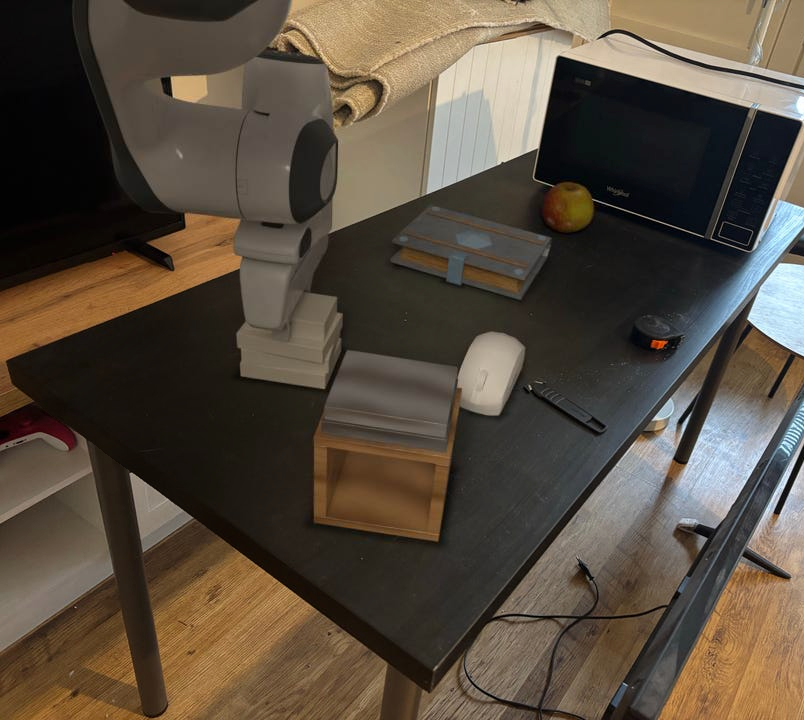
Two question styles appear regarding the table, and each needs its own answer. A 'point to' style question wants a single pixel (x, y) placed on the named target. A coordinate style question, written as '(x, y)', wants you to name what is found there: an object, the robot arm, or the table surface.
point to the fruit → (568, 207)
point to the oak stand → (386, 446)
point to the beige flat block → (310, 317)
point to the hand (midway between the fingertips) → (292, 319)
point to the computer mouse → (490, 372)
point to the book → (472, 251)
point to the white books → (290, 356)
